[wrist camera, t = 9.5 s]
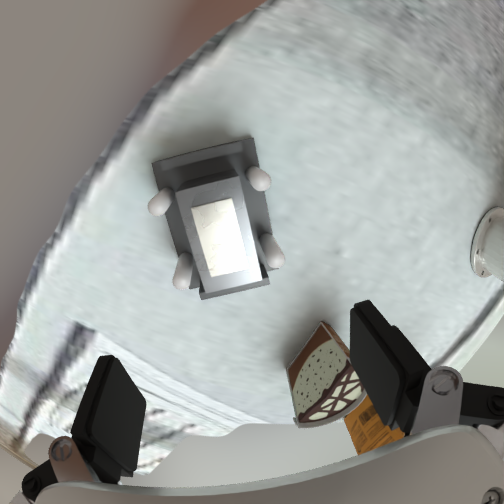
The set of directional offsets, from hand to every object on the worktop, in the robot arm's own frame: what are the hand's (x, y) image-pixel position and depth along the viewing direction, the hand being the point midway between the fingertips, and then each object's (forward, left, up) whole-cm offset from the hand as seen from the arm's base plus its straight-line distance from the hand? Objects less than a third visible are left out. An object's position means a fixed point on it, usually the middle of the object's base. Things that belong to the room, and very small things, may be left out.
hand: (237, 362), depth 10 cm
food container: (-9, +22, -21) cm, 31 cm away
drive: (0, 0, -20) cm, 20 cm away
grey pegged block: (0, 0, -20) cm, 20 cm away
